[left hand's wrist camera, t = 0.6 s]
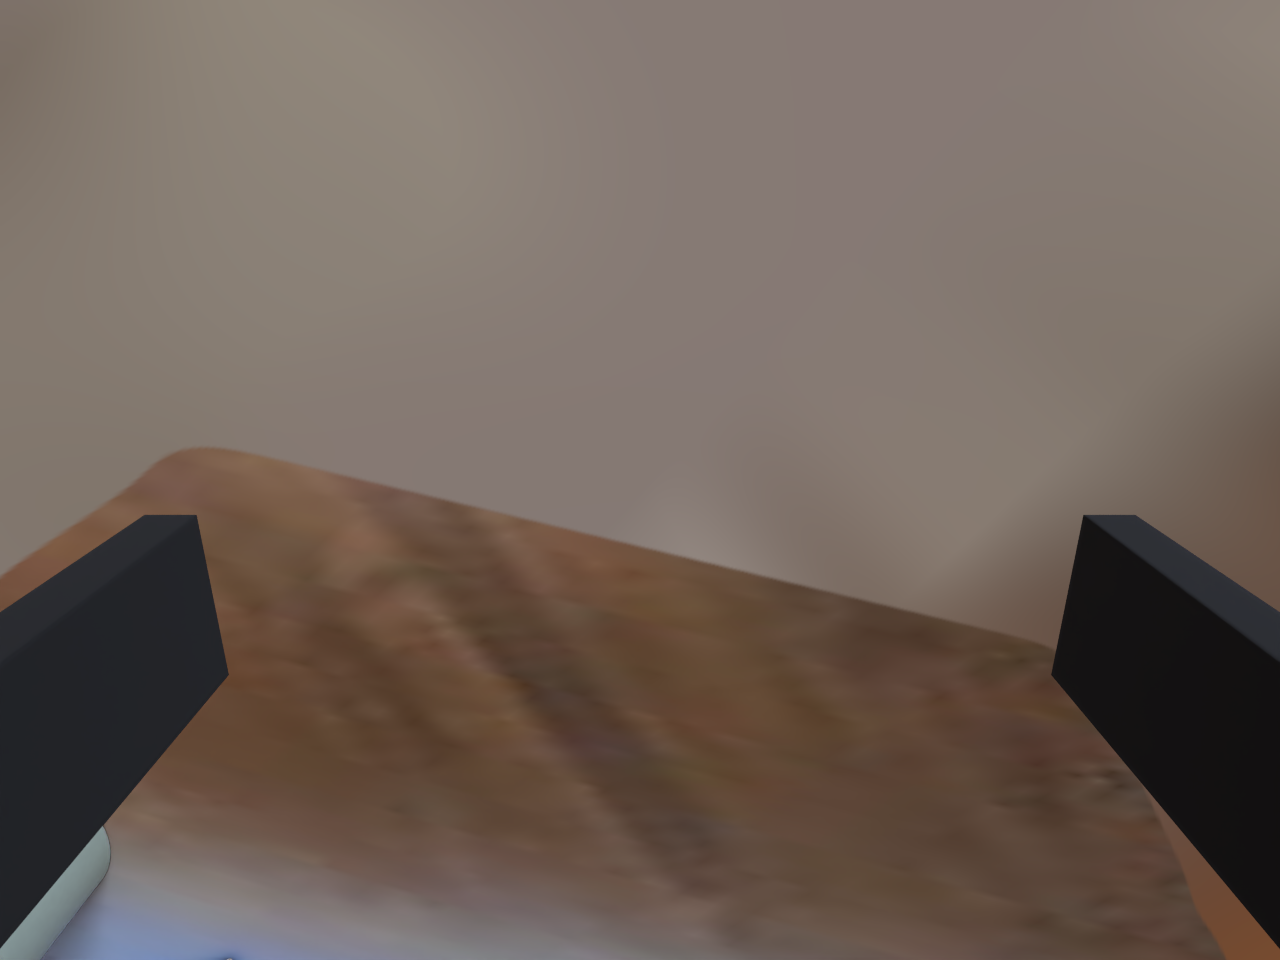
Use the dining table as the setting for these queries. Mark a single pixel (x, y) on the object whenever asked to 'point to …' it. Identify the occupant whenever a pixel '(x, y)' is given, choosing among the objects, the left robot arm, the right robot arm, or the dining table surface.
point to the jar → (60, 902)
